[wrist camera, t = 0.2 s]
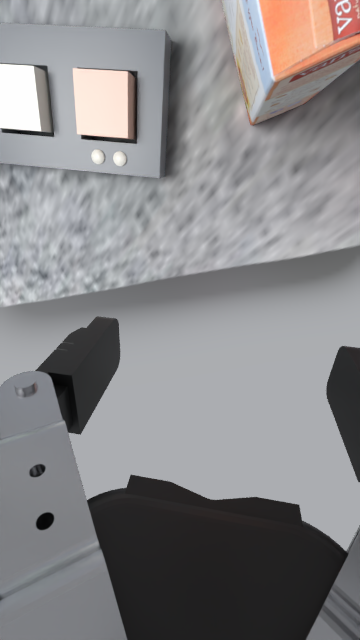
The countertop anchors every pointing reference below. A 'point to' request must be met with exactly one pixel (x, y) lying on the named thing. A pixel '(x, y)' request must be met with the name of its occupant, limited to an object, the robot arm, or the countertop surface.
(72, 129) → the keypad
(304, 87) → the cracker box
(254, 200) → the countertop surface
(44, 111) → the cream key
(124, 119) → the rose key
